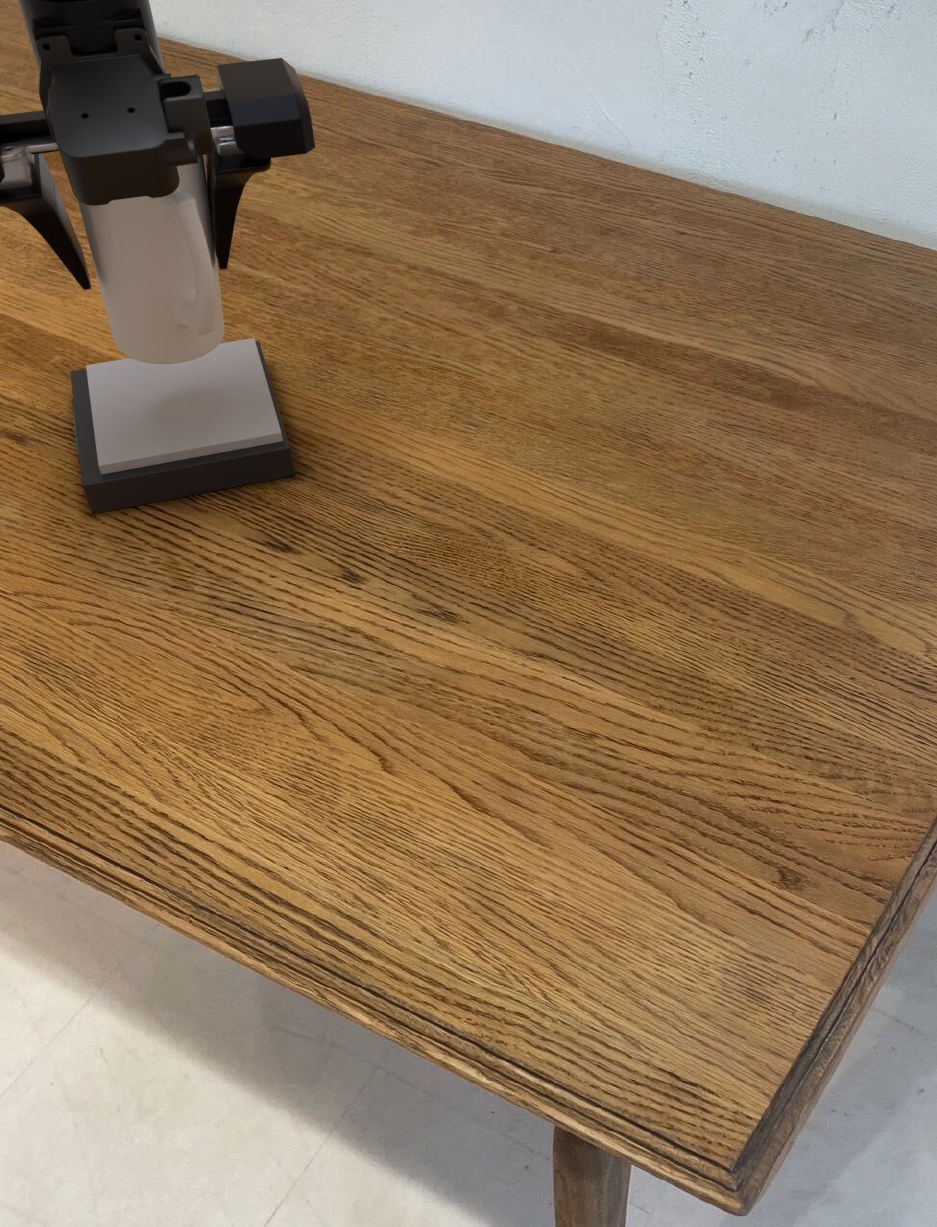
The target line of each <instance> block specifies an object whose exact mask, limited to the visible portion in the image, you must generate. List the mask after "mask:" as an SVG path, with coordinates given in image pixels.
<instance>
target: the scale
mask: <svg viewBox="0 0 937 1227" xmlns="http://www.w3.org/2000/svg"><path fill="white" fill-rule="evenodd" d="M69 374H70V384H71V393H72V399H71V404H72V416H73V426H74V433H75V443H76V452H77V458H78V462H79V463H78V464H79V465H80V474H81V482H82V488H83V491H84V494H85V497H86V499H87V503H88V506H89V509H90V511H91V514H92V515H96V514H100V513H101V514H102V513H105V512H106V513H107V512H111V511H115V510H121V509H127V508H131V507H137V506H141V505H147V504H152V503H153V504H154V503H159V502H163V501H169V500H174V499H179V498H184V497H189V496H194V495H199V494H206V493H210V492H216V491H222V490H226V489H227V490H228V489H231V488H236V487H241V486H248V485H253V484H257V483H263V482H268V481H272V480H273V481H274V480H279V479H284V478H289V477H294V476H296V473H295V467H294V462H293V457H292V450H291V446H290V441H289V438H288V435H287V431H286V428H285V426H284V422H283V418H282V415H281V412H280V408H279V404H278V401H277V398H276V394H275V391H274V387H273V385H272V381H271V377H270V373H269V369H268V367H267V362H266V360H265V356H264V353H263V349H262V346H261V342H260V340H256V338H255V337H251V338H246V339H245V338H244V339H239V340H231V341H227V342H220V343H219V345H218V346H217V347H216V348H215V349H213V350H212V351H211V352H209V353H207V354H206V355H204V356H202V357H199V358H197V359H194V360H190V361H187V362H182V363H175V364H152V363H146V362H141V361H138V360H135V359H132V358H130V357H128V358H122V359H116V360H110V361H103V362H98V363H92V364H86V365H85V368H82V369H75V370H70V371H69Z"/></svg>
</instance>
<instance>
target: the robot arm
mask: <svg viewBox="0 0 937 1227" xmlns="http://www.w3.org/2000/svg"><path fill="white" fill-rule="evenodd" d="M17 2H18V5H19V9H20V12H21V16H22V19H23V22H24V26H25V29H26V32H27V36H28V39H29V42H30V43H29V44H30V46H31V50H32V52H33V57H34V59H35V63H36V66H37V70H38V96H39V100H40V103H41V107H42V110H34V111H25V112H24V111H23V112H18V113H17V112H16V113H7V114H1V112H0V207H3V208H6V209H8V210H11V211H13V212H15V213H16V214H19V215H20V216H21V217H22V218H23V219H24V220H25V221H26V222H27V223H28V224H29V225H30V226H31V227H32V228H34V230H36V232H37V233H38V234H39V235H40V236H41V237H42V238H43V239H44V241H45V242H46V243H47V245H49V247H50V248H51V250H52V251H53V253H54V254H55V255H56V256H57V257H58V259H59V260H60V262H62V264H63V265H64V267H65V268H66V269H67V270H68V272H69V273H70V274H71V276H73V278H74V280H75V281H76V282H77V284H78V285H79V286H80V287H81V288H82V290H84V291H88V290H91V289H92V283H91V282H92V281H91V276H90V273H89V269H88V266H87V262H86V258H85V255H84V251H83V248H82V246H81V243H80V241H79V239H78V236H77V233H76V231H75V229H74V227H73V224H72V221H71V219H70V217H69V214H68V212H67V209H66V206H65V204H64V202H63V199H62V197H61V193H60V192H59V189H58V187H57V185H56V181H55V180H54V177H53V174H52V172H51V170H50V167H49V165H48V162H47V160H46V158H45V155H44V154H47V153H48V154H49V153H56V152H57V153H58V152H59V155H60V157H61V161H62V164H63V168H64V170H65V173H66V176H67V179H68V182H69V185H70V189H71V191H72V194H73V196H74V197H75V199H76V200H77V202H78V201H80V202H81V203H83V204H86V205H91V206H98V205H106V204H108V203H109V202H110V201H113V200H120V199H128V198H135V197H143V196H148V197H150V198H159V197H164V196H167V195H170V194H171V193H173V192H174V191H175V190H176V189H177V188H178V186H179V181H180V180H179V174H178V170H177V166H183V165H190V164H198V160H197V157H198V156H201V155H203V157H204V164H205V171H206V179H207V187H208V196H209V204H210V213H211V226H212V237H213V243H214V247H215V253H216V261H217V266H218V269H219V270H220V271H223V270H224V271H225V270H228V267H229V266H228V265H229V260H230V254H231V248H232V242H233V237H234V236H233V235H234V230H235V224H236V218H237V212H238V207H239V204H240V201H241V197H242V195H243V192H244V189H245V187H246V185H247V183H248V182H249V181H250V179H251V178H252V177H253V175H255V174H259V173H260V174H261V173H265V172H267V171H269V170H270V169H271V168H272V159H275V158H284V157H291V156H298V155H299V156H300V155H307V154H308V153H310V152H311V151H312V150H314V149H315V148H316V142H315V141H316V140H315V134H314V128H313V122H312V114H311V111H310V106H309V102H308V98H307V96H306V93H305V91H304V89H303V86H302V84H301V81H300V78H299V76H298V73H297V71H296V69H295V68H294V67H293V66H292V65H291V64H290V63H289V62H287V61H286V60H285V59H284V58H282V57H277V58H268V59H258V60H250V61H248V60H247V61H241V62H230V63H222V64H216V71H217V72H216V73H217V79H218V85H219V87H213V88H212V87H211V88H208V89H206V90H204V89H203V84H202V81H201V76H200V75H198V74H191V75H182V76H172V73H169V72H168V73H167V71H166V69H165V65H164V61H163V57H162V53H161V49H160V43H159V39H158V35H157V31H156V25H155V22H154V17H153V13H152V9H151V8H152V7H151V3H150V0H17Z"/></svg>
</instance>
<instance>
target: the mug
mask: <svg viewBox="0 0 937 1227" xmlns="http://www.w3.org/2000/svg"><path fill="white" fill-rule="evenodd" d="M197 160H198V164H190V165H183V166H177V170H178V174H179V180H180V181H179V186H178V188H177V189H176V190H175V191H174V192H173V193H171V194H170V195H167V196H164V197H159V198H150V197H148V196H143V197H135V198H128V199H120V200H113V201H110V202H109V203H108V204H106V205H98V206H91V205H86V204H83V203H81V202H80V201H78V200H77V202H78V203H77V204H78V207H79V211H80V215H81V219H82V224H83V227H84V231H85V235H86V238H87V239H86V240H87V243H88V247H89V251H90V255H91V258H92V263H93V268H94V271H95V276H96V279H97V284H98V288H99V292H100V295H101V299H102V300H101V301H102V303H103V308H104V311H105V314H106V319H107V322H108V325H109V329H110V333H111V337H112V340H113V343H114V346H115V347H116V348H117V349H118V351H119V352H121V353H122V354H123V355H125V356H126V357H128V358H132V359H135V360H138V361H141V362H146V363H152V364H175V363H182V362H187V361H190V360H194V359H197V358H199V357H202V356H204V355H206V354H207V353H209V352H211V351H212V350H213V349H215V348H216V347H217V346H218V345H219V344H220V343H222V341H223V339H224V337H225V330H226V329H225V320H224V313H223V312H224V311H223V303H222V294H221V293H222V292H221V285H220V278H219V270H218V269H219V268H218V261H217V256H216V252H215V247H214V243H213V237H212V226H211V213H210V204H209V196H208V187H207V179H206V168H205V157H204V155H201V156H198V157H197Z"/></svg>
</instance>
